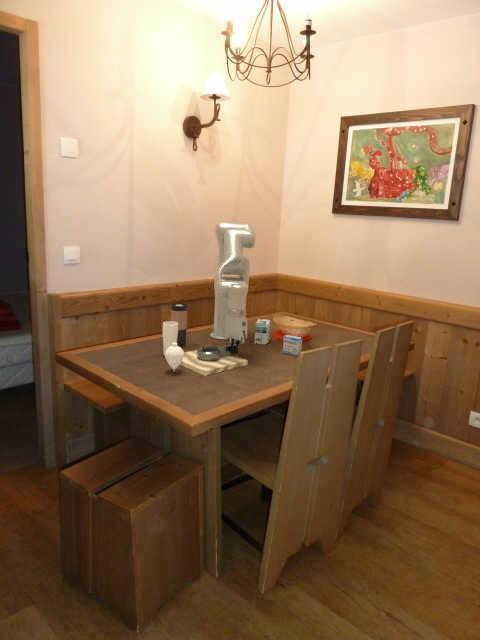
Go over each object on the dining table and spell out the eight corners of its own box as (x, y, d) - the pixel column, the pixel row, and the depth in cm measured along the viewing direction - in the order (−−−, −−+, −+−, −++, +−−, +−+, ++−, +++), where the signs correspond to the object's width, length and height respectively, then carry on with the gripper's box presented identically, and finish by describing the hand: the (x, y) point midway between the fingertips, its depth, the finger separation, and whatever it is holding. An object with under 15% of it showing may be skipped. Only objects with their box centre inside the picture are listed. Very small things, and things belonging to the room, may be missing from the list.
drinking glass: (174, 358, 203) (175, 325, 200) (159, 356, 204) (160, 323, 201) (179, 354, 209) (180, 322, 206) (165, 352, 211) (165, 320, 207)
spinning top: (174, 367, 192) (175, 339, 189) (187, 372, 187) (188, 343, 185) (160, 371, 186) (161, 342, 183) (173, 376, 182) (174, 346, 179)
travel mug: (187, 343, 227) (188, 303, 222) (184, 348, 219) (185, 306, 215) (172, 342, 227) (173, 302, 223) (168, 346, 220) (169, 305, 215)
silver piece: (203, 362, 193) (204, 350, 192) (192, 355, 202) (193, 344, 200) (242, 357, 204) (242, 346, 202) (230, 350, 212) (230, 340, 211)
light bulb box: (267, 345, 233) (268, 324, 231) (254, 343, 234) (255, 323, 232) (269, 339, 243) (270, 319, 241) (256, 338, 244) (258, 318, 242)
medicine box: (282, 353, 220) (283, 336, 218) (285, 351, 224) (287, 334, 222) (297, 356, 217) (299, 339, 215) (301, 354, 220) (302, 337, 218)
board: (210, 351, 217) (211, 346, 217) (247, 364, 201) (247, 359, 200) (169, 360, 201) (169, 355, 200) (205, 375, 184) (205, 370, 184)
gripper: (255, 315, 196) (252, 356, 201) (230, 308, 207) (228, 348, 211) (242, 317, 191) (240, 359, 195) (218, 310, 201) (216, 351, 205)
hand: (234, 353), depth 203 cm, fingers closed
